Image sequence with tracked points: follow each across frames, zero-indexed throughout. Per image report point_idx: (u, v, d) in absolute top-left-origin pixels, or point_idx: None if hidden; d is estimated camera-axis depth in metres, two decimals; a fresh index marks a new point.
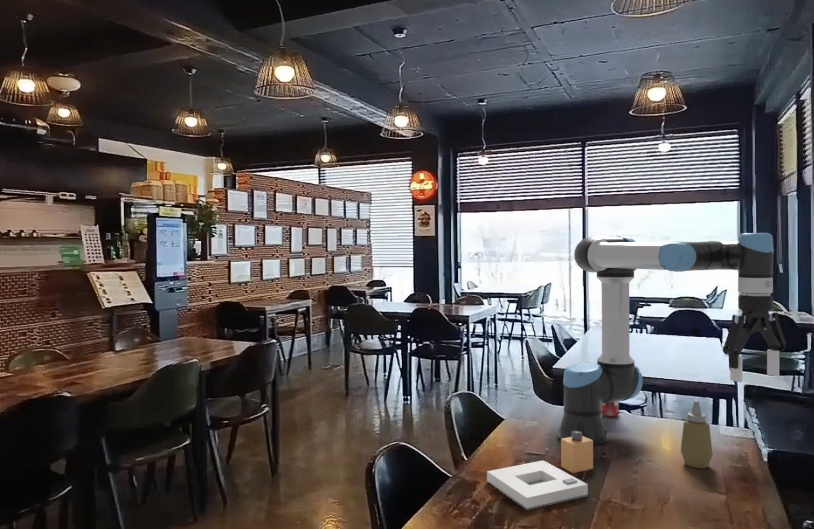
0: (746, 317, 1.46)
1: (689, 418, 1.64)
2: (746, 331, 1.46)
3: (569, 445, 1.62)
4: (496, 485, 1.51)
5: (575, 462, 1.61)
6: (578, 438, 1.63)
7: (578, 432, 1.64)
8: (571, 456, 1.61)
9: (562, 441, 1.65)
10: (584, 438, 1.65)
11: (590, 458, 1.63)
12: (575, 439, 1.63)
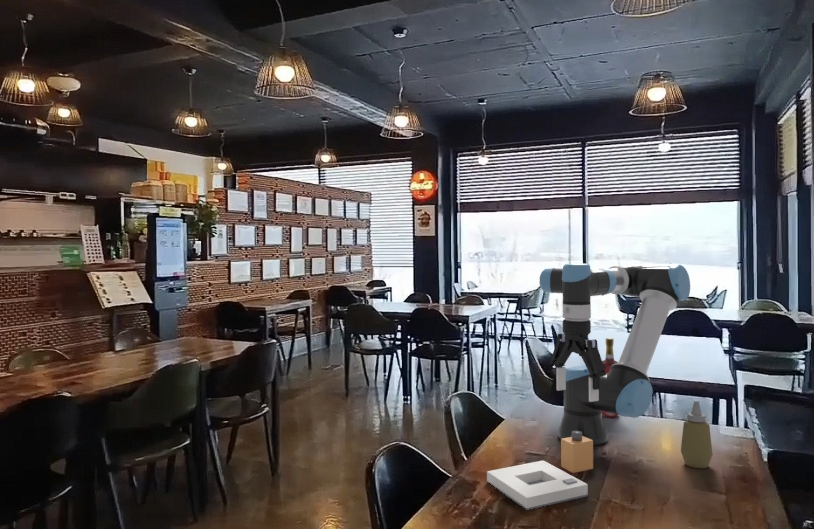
0: None
1: (689, 418, 1.64)
2: None
3: (569, 445, 1.62)
4: (496, 485, 1.51)
5: (575, 462, 1.61)
6: (578, 438, 1.63)
7: (578, 432, 1.64)
8: (571, 456, 1.61)
9: (562, 441, 1.65)
10: (584, 438, 1.65)
11: (590, 458, 1.63)
12: (575, 439, 1.63)
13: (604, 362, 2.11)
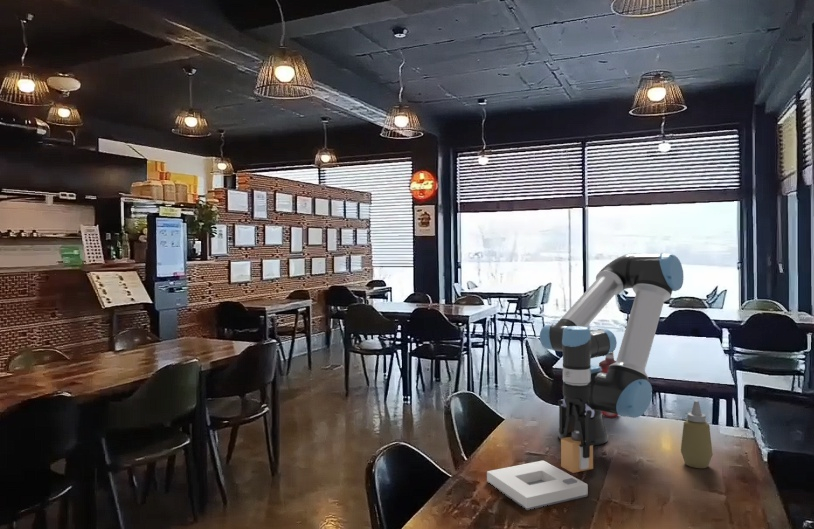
0: None
1: (689, 418, 1.64)
2: None
3: (569, 445, 1.62)
4: (496, 485, 1.51)
5: (575, 462, 1.61)
6: (578, 438, 1.63)
7: (578, 432, 1.64)
8: (571, 456, 1.61)
9: (562, 441, 1.65)
10: None
11: (590, 458, 1.63)
12: (575, 439, 1.63)
13: (604, 362, 2.11)
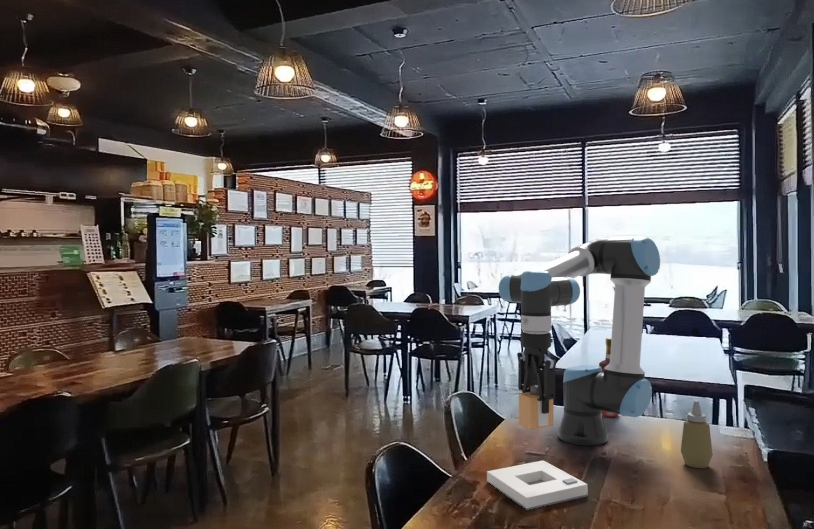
0: None
1: (689, 418, 1.64)
2: None
3: (527, 399, 1.48)
4: (496, 485, 1.51)
5: (533, 418, 1.47)
6: (537, 392, 1.49)
7: (537, 386, 1.50)
8: (529, 411, 1.47)
9: (520, 396, 1.51)
10: None
11: (550, 414, 1.49)
12: (534, 393, 1.49)
13: (604, 362, 2.11)
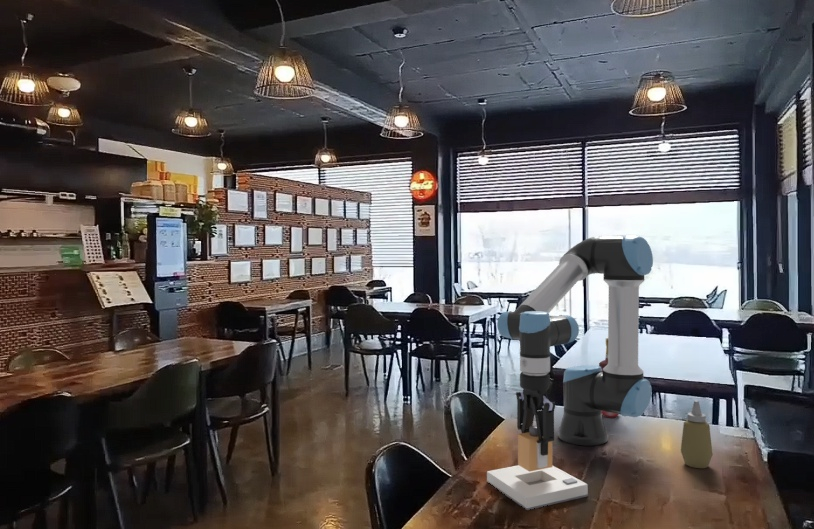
0: None
1: (689, 418, 1.64)
2: None
3: (526, 441, 1.48)
4: (496, 485, 1.51)
5: (532, 460, 1.47)
6: (536, 433, 1.49)
7: (536, 427, 1.50)
8: (528, 453, 1.47)
9: (519, 437, 1.50)
10: None
11: (549, 455, 1.49)
12: (533, 434, 1.49)
13: (604, 362, 2.11)
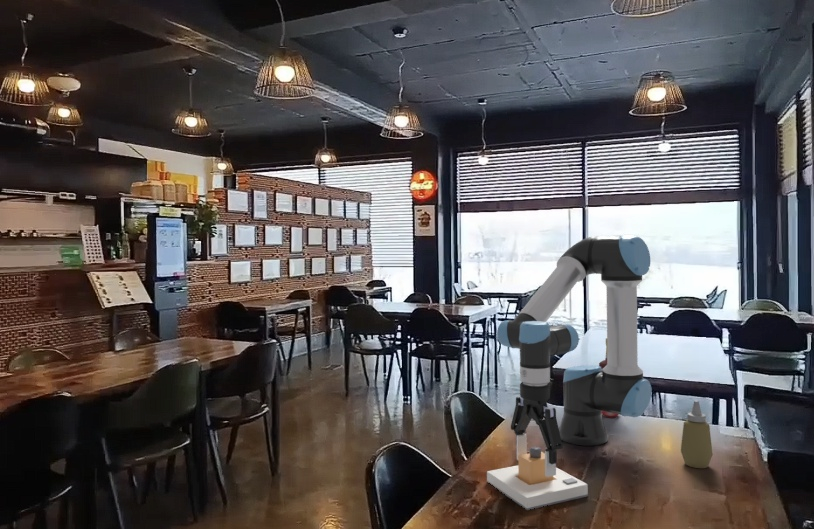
0: None
1: (689, 418, 1.64)
2: None
3: (526, 463, 1.48)
4: (496, 485, 1.51)
5: (533, 482, 1.47)
6: (536, 455, 1.49)
7: (537, 448, 1.50)
8: (528, 475, 1.47)
9: (519, 458, 1.51)
10: (543, 455, 1.51)
11: None
12: (533, 456, 1.49)
13: (604, 362, 2.11)
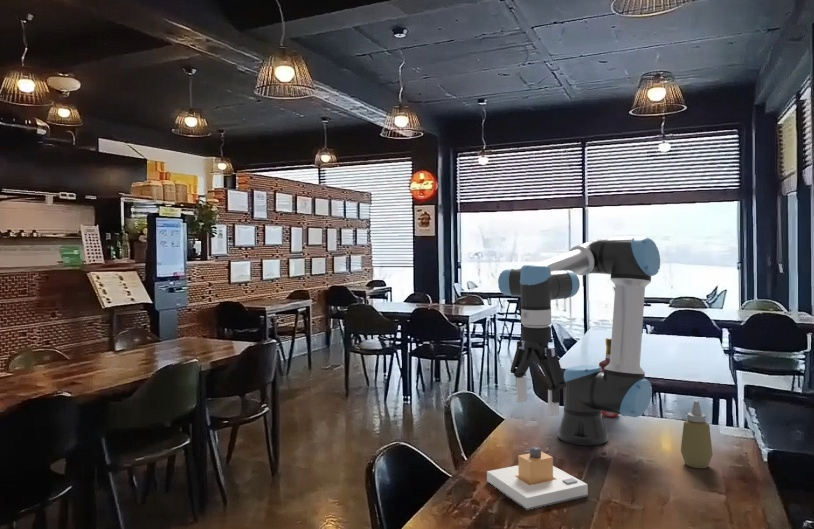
0: None
1: (689, 418, 1.64)
2: None
3: (526, 463, 1.48)
4: (496, 485, 1.51)
5: (533, 482, 1.47)
6: (536, 455, 1.49)
7: (537, 448, 1.50)
8: (528, 475, 1.47)
9: (519, 458, 1.51)
10: (543, 455, 1.51)
11: (549, 476, 1.49)
12: (533, 456, 1.49)
13: (604, 362, 2.11)
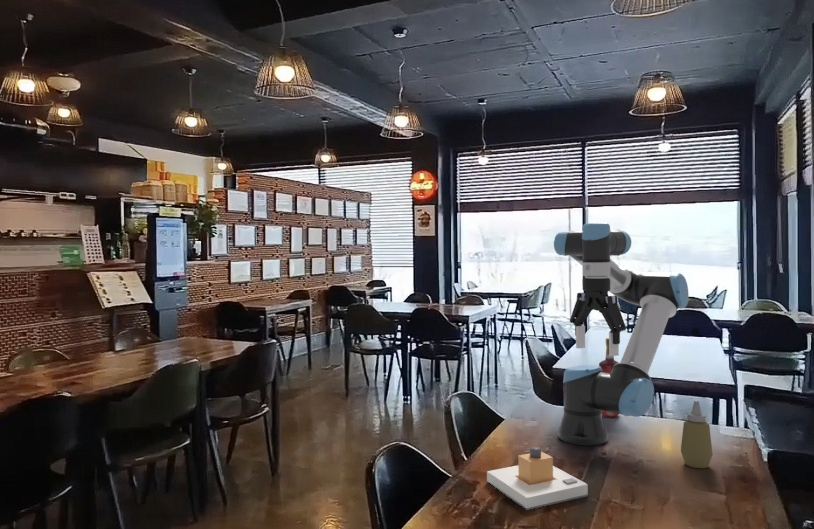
0: None
1: (689, 418, 1.64)
2: None
3: (526, 463, 1.48)
4: (496, 485, 1.51)
5: (533, 482, 1.47)
6: (536, 455, 1.49)
7: (537, 448, 1.50)
8: (528, 475, 1.47)
9: (519, 458, 1.51)
10: (543, 455, 1.51)
11: (549, 476, 1.49)
12: (533, 456, 1.49)
13: (604, 362, 2.11)
